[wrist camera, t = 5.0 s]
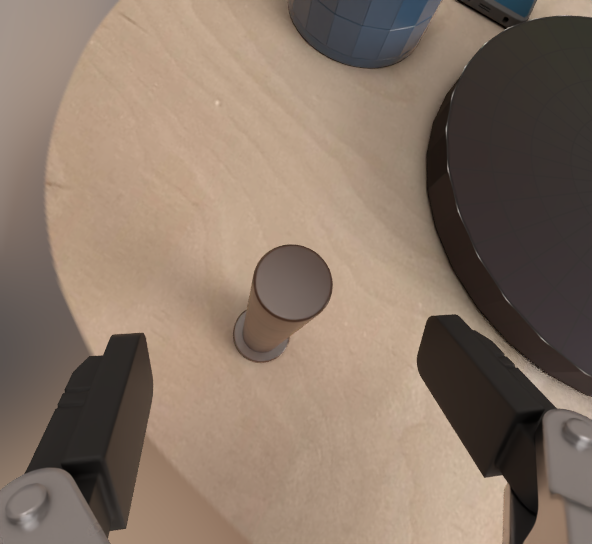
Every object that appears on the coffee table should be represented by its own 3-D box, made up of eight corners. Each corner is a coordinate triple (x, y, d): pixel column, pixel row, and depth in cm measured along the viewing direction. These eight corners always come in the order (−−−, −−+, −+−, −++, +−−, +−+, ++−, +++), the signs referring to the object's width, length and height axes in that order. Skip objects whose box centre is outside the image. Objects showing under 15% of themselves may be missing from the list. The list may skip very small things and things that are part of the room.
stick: (249, 373, 21) (270, 364, 9) (223, 323, 22) (213, 256, 10) (298, 345, 22) (372, 305, 10) (271, 298, 23) (314, 209, 11)
